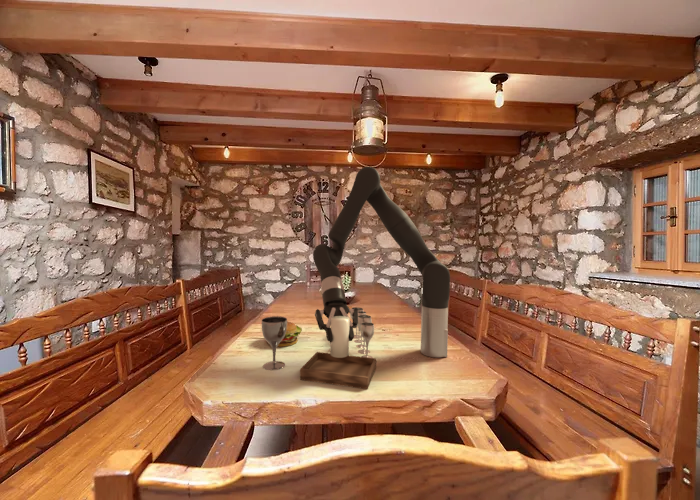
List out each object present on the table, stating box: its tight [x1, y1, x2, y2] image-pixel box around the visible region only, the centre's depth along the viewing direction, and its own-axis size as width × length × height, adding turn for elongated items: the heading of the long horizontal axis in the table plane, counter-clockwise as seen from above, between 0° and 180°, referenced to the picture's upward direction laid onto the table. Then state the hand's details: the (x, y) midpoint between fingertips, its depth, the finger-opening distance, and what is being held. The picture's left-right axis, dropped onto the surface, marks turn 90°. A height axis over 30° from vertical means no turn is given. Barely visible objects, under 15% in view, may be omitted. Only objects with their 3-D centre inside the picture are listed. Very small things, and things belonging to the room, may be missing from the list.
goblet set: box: [349, 306, 375, 358], centre depth 118 cm, size 28×6×13 cm, turn 8°
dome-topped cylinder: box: [329, 316, 351, 358], centre depth 93 cm, size 6×6×11 cm
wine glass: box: [261, 315, 288, 371], centre depth 99 cm, size 8×8×15 cm
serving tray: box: [299, 351, 377, 390], centre depth 94 cm, size 20×14×3 cm
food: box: [267, 320, 303, 348], centre depth 121 cm, size 14×14×8 cm
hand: (341, 340), depth 92 cm, fingers closed on dome-topped cylinder, 5 cm apart
